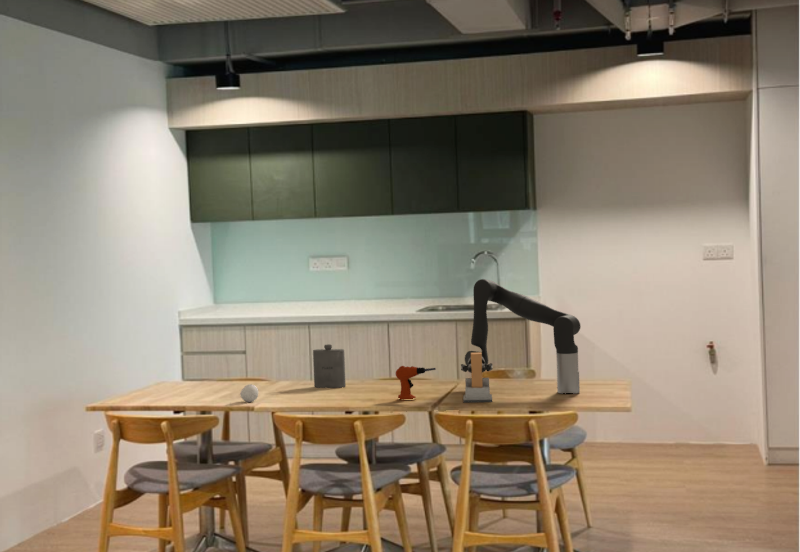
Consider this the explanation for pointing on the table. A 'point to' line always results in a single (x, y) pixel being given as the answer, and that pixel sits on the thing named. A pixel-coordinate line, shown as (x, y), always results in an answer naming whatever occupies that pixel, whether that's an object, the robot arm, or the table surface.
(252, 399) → the gray round stone
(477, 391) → the vise
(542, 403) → the table surface
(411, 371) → the toy drill
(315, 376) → the flask
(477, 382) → the orange block
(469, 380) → the block
